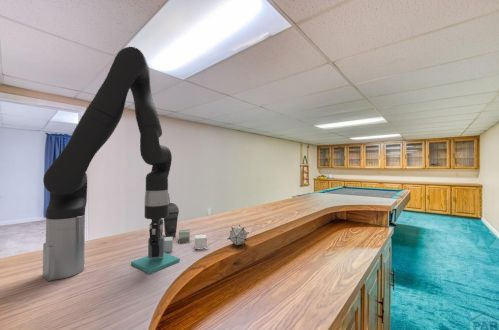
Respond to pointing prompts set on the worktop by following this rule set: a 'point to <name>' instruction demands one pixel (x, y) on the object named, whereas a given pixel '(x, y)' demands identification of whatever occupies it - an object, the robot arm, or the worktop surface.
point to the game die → (238, 235)
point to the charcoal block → (161, 247)
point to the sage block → (184, 235)
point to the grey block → (168, 244)
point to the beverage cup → (171, 220)
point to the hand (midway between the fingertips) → (156, 253)
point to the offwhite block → (200, 241)
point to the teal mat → (155, 263)
